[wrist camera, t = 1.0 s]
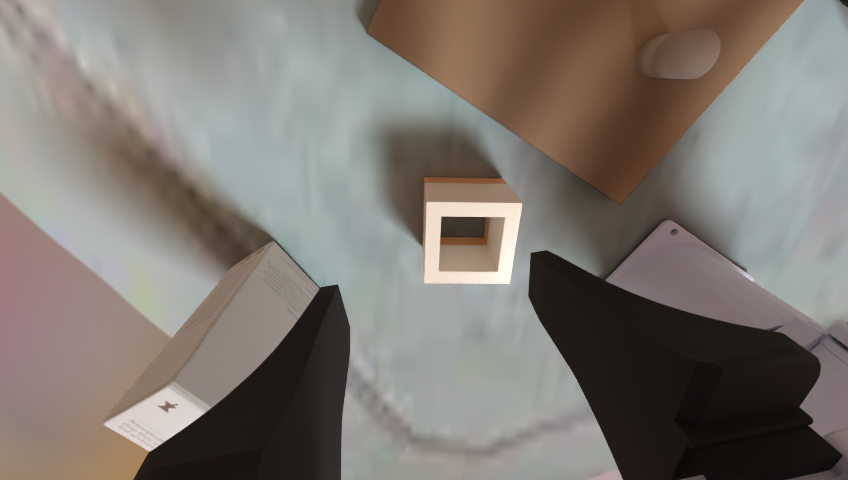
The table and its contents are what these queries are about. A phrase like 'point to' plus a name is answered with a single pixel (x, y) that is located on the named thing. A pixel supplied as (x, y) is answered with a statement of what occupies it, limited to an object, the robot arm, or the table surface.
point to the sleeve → (470, 254)
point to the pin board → (585, 69)
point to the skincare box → (215, 347)
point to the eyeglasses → (845, 2)
